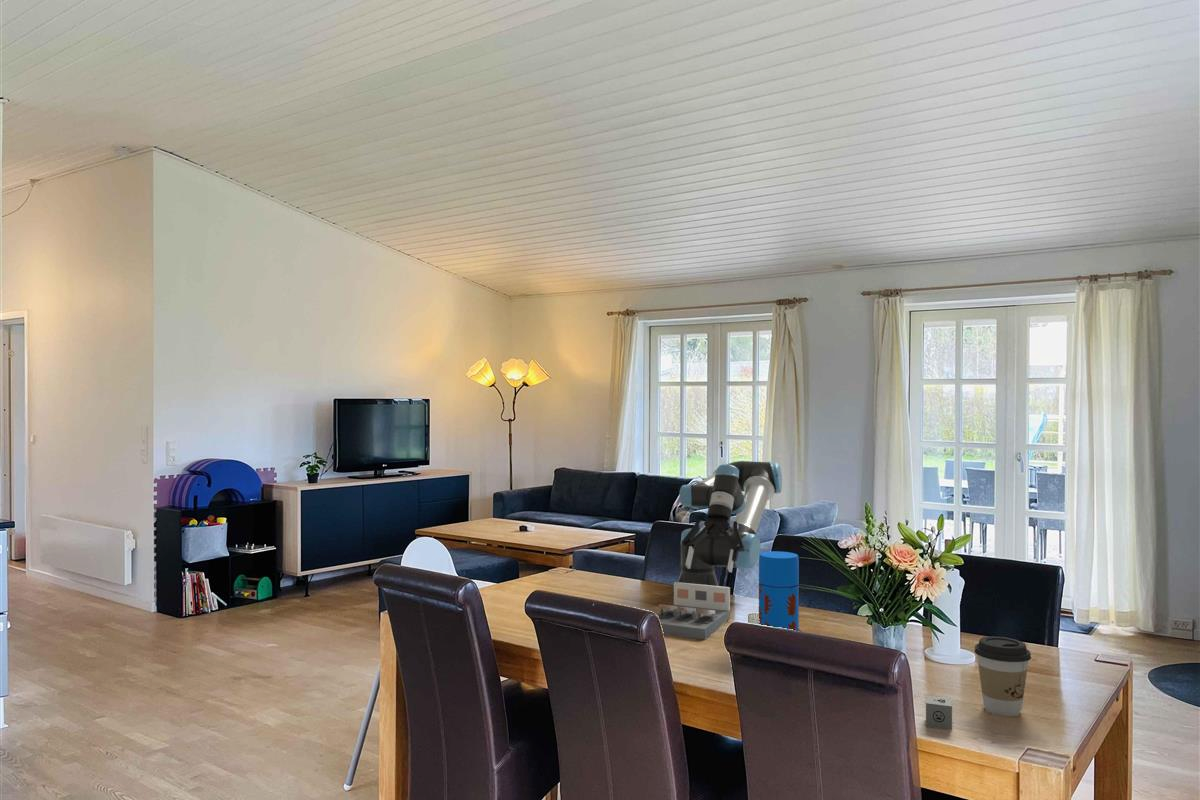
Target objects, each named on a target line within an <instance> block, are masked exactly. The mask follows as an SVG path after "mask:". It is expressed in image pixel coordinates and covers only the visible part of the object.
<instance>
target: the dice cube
mask: <svg viewBox="0 0 1200 800" xmlns="http://www.w3.org/2000/svg"><path fill="white" fill-rule="evenodd" d="M925 727H926V728H927V727H928V728H933V729H942V730H946V729H947V730H948V731H952V730H953V698H952V697H951V698H950V697H943V696H934V695H926V697H925ZM947 730H946V731H947Z"/></svg>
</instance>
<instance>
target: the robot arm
mask: <svg viewBox="0 0 1200 800" xmlns="http://www.w3.org/2000/svg"><path fill="white" fill-rule="evenodd" d="M782 477H783V476H782V468H781V465H780V464H779V463H778V462H775V461H774V462H773V461H751V460H750V461H747V460H746V461H745V460H744V461H743V460H739V461H733V462H729V463H726V464H725V463H723V464H720V465H719V466H718V467H717V468H716V469H714V471H713V472H712V474H711V475H709V476H707V477H706V478H704V479H702V480H701V481H699V482H697V483H695V484H683V485H681V487H680V489H679V494H678V495H679V503H680V504H681V506H683V507H689V508H708V509H707V513H706V519H705V520H700V519H699V518H697V519H696V521H695V523H694V525H693V526H692V528H686V529H684V530H683V531H682V532H681V537H680V543H679V544H680V574H679V577H678V580H677V582H681V583H691V584H701V585H711V586H720V585H719V583H718V580H717V576H716V574H715V567H723V568H724V567H725V568H726V569H727V571H728V573H733V568H735V569H740V570H742V569H752V568H754V567H755V566H756V564H757V563H758V562H759V556H760V553H761V539H760V537H759V535H758V534H757V531H758V527H759V525H760V522H761V520H762V516H763V513H764V511H765V508H766V505H767V503H768V501H769V500H771V499H772V498H773V497H774V495H775V494H780V493H782V490H783V479H782ZM732 515H735V516H734V519H733V522H730V521H731V518H732Z"/></svg>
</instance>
